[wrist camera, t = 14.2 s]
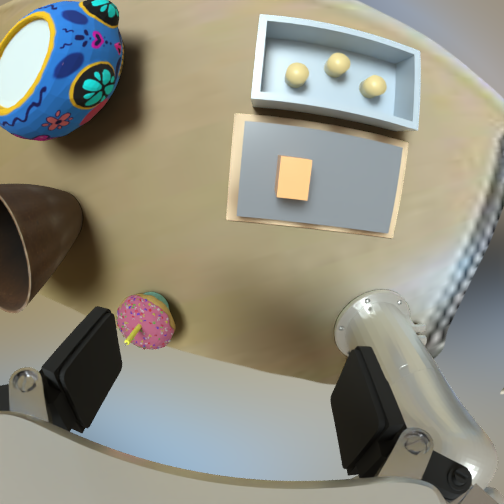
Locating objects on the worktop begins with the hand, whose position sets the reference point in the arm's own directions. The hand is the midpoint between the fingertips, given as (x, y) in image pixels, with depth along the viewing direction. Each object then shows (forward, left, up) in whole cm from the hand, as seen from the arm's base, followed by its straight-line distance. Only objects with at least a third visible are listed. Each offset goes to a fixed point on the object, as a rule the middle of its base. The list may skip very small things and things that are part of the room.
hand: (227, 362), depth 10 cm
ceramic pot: (+24, -18, -26) cm, 40 cm away
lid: (-8, -5, -25) cm, 27 cm away
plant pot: (+28, +2, -26) cm, 39 cm away
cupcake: (+13, +15, -26) cm, 33 cm away
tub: (-8, -18, -26) cm, 33 cm away
